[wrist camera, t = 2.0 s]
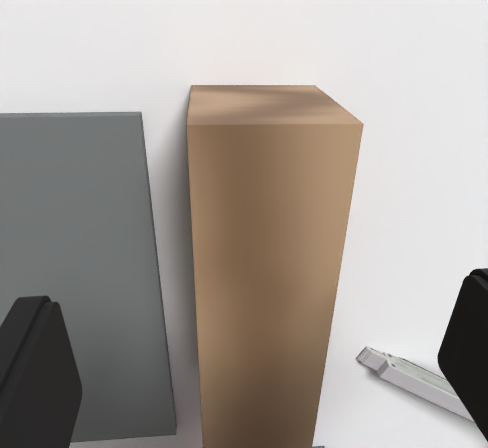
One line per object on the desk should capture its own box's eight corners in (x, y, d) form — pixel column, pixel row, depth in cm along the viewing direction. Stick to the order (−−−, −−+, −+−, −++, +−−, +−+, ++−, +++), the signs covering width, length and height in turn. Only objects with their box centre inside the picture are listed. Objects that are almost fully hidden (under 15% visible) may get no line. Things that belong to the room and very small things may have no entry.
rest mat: (141, 111, 17) (139, 115, 16) (176, 425, 26) (175, 434, 26) (-96, 114, 16) (-106, 118, 15) (30, 436, 26) (27, 445, 25)
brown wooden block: (313, 84, 17) (363, 123, 12) (287, 360, 25) (310, 458, 19) (191, 84, 16) (186, 124, 11) (203, 365, 24) (204, 467, 19)
